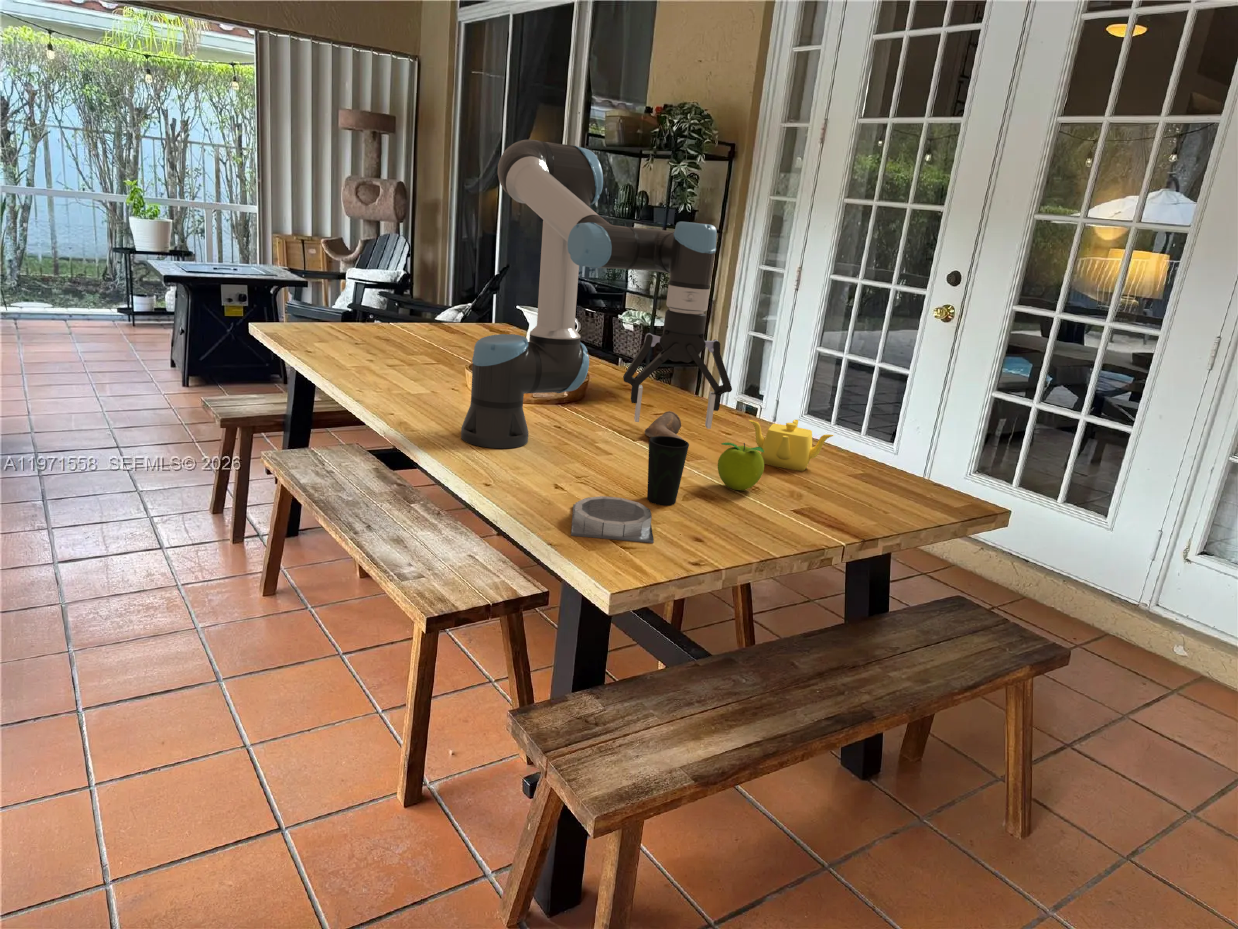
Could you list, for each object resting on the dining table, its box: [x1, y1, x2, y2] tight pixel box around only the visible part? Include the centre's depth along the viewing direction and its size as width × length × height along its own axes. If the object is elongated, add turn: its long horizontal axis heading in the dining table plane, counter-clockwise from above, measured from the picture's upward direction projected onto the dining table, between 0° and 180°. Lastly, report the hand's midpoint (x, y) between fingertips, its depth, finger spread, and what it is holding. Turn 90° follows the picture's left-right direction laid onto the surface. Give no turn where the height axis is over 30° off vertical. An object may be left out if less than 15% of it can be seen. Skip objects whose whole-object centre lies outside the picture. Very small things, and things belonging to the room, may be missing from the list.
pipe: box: [644, 410, 685, 440], centre depth 205 cm, size 6×17×10 cm
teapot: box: [748, 419, 835, 472], centre depth 197 cm, size 15×14×10 cm
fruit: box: [717, 441, 765, 492], centre depth 174 cm, size 9×9×10 cm
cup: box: [646, 436, 690, 507], centre depth 162 cm, size 8×8×12 cm
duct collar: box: [570, 495, 655, 544], centre depth 148 cm, size 14×14×3 cm
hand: (672, 423), depth 159 cm, fingers open, 13 cm apart
